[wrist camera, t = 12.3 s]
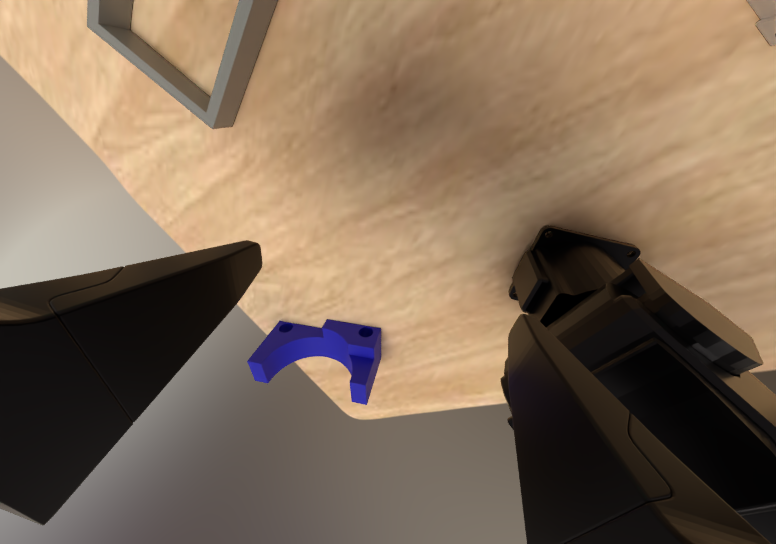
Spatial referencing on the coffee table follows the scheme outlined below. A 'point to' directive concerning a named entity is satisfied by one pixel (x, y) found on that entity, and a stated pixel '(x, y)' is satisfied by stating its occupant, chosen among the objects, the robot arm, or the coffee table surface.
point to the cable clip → (322, 351)
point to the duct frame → (243, 45)
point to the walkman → (766, 18)
